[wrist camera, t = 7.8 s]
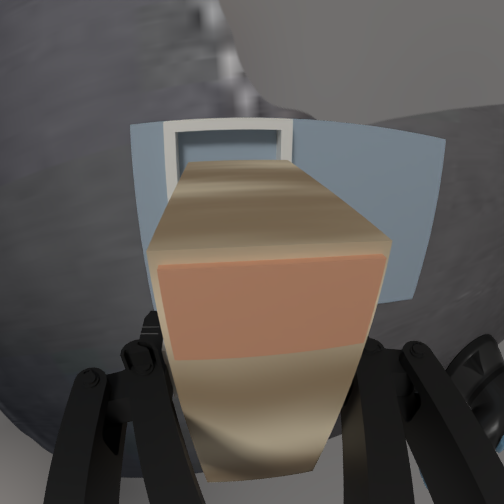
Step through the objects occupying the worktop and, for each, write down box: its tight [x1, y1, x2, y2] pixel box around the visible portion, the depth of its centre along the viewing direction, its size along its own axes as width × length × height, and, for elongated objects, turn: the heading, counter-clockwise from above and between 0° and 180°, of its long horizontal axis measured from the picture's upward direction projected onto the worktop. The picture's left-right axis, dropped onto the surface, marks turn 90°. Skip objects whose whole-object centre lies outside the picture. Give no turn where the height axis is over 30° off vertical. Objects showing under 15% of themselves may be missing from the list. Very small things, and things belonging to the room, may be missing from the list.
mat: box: [130, 118, 446, 311], centre depth 31 cm, size 34×22×1 cm, turn 90°
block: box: [146, 160, 392, 482], centre depth 13 cm, size 12×5×10 cm, turn 0°
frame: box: [163, 118, 293, 202], centre depth 28 cm, size 11×16×2 cm
